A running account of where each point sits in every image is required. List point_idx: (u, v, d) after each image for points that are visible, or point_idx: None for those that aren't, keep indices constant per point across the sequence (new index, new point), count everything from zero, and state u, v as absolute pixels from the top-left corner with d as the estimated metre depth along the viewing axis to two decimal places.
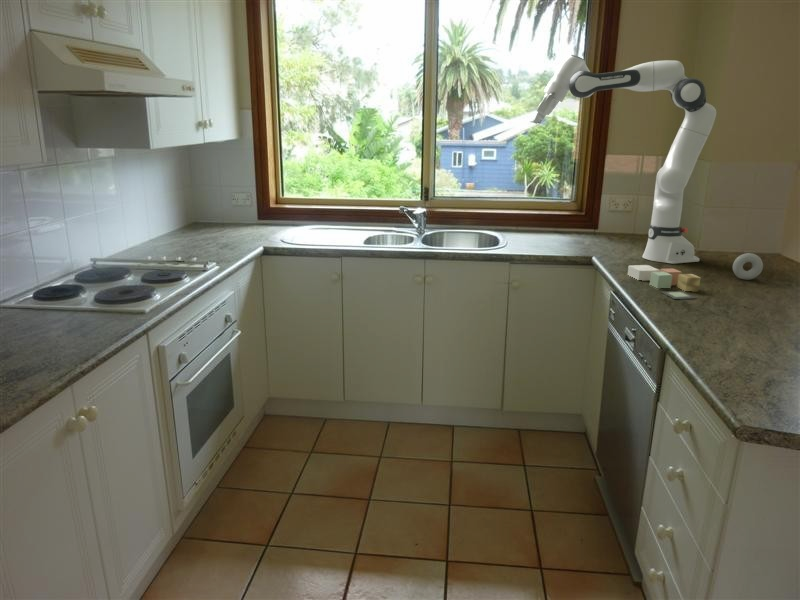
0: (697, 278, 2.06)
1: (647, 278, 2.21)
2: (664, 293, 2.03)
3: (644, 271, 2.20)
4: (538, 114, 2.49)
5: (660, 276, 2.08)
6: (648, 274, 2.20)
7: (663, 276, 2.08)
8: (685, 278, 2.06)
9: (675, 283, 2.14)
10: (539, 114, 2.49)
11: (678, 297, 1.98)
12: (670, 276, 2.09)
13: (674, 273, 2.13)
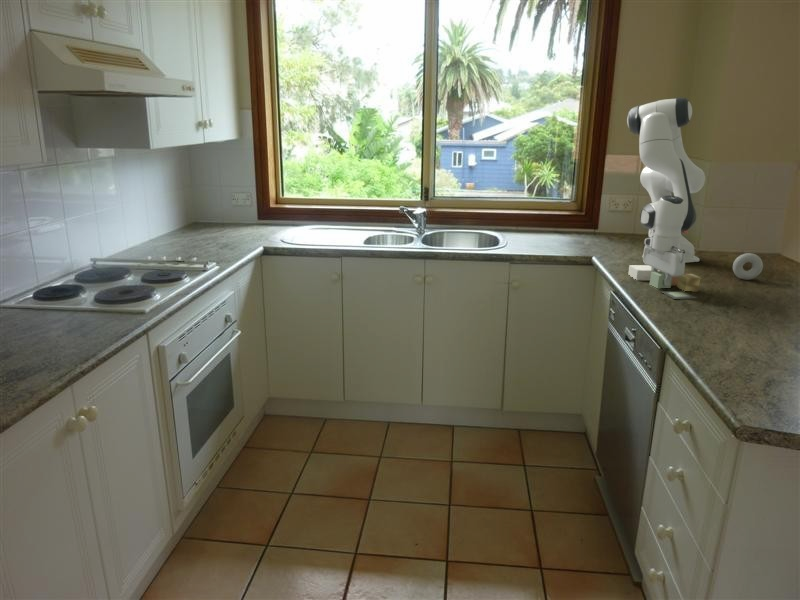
0: (697, 278, 2.06)
1: (645, 278, 2.21)
2: (664, 293, 2.03)
3: (642, 271, 2.20)
4: (669, 276, 2.06)
5: (660, 276, 2.08)
6: (646, 274, 2.20)
7: (663, 276, 2.08)
8: (685, 278, 2.06)
9: (675, 283, 2.14)
10: (670, 275, 2.06)
11: (678, 297, 1.98)
12: None
13: None
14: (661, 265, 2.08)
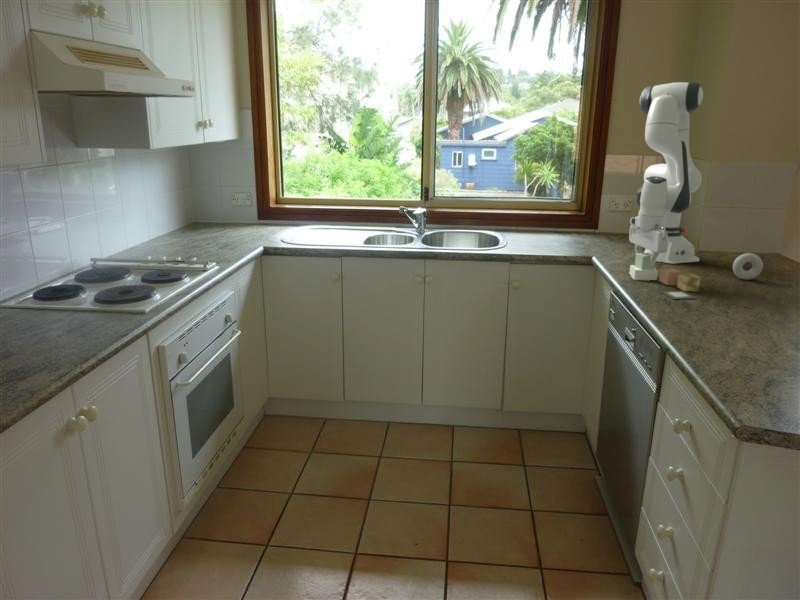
0: (697, 278, 2.06)
1: (644, 278, 2.21)
2: (664, 293, 2.03)
3: (640, 271, 2.20)
4: (655, 253, 2.15)
5: (644, 257, 2.20)
6: (645, 274, 2.20)
7: (647, 257, 2.20)
8: (685, 278, 2.07)
9: (675, 283, 2.14)
10: (656, 253, 2.15)
11: (678, 297, 1.98)
12: None
13: (674, 273, 2.13)
14: (646, 242, 2.18)
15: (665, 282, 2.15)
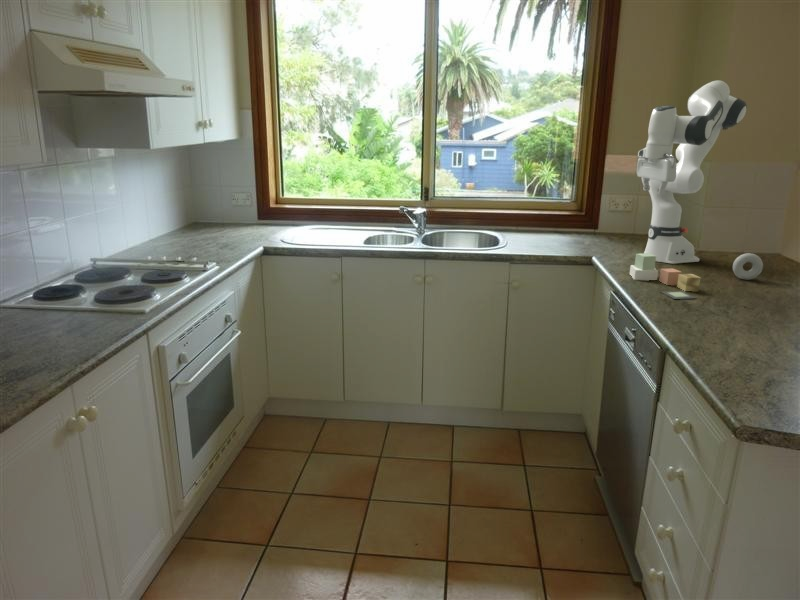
0: (697, 278, 2.06)
1: (644, 278, 2.21)
2: (664, 293, 2.03)
3: (640, 271, 2.20)
4: (663, 183, 2.12)
5: (645, 257, 2.19)
6: (645, 275, 2.20)
7: (647, 257, 2.20)
8: (685, 278, 2.07)
9: (675, 283, 2.14)
10: (664, 183, 2.12)
11: (678, 297, 1.98)
12: (654, 257, 2.20)
13: (674, 273, 2.13)
14: (654, 173, 2.15)
15: (665, 282, 2.15)
